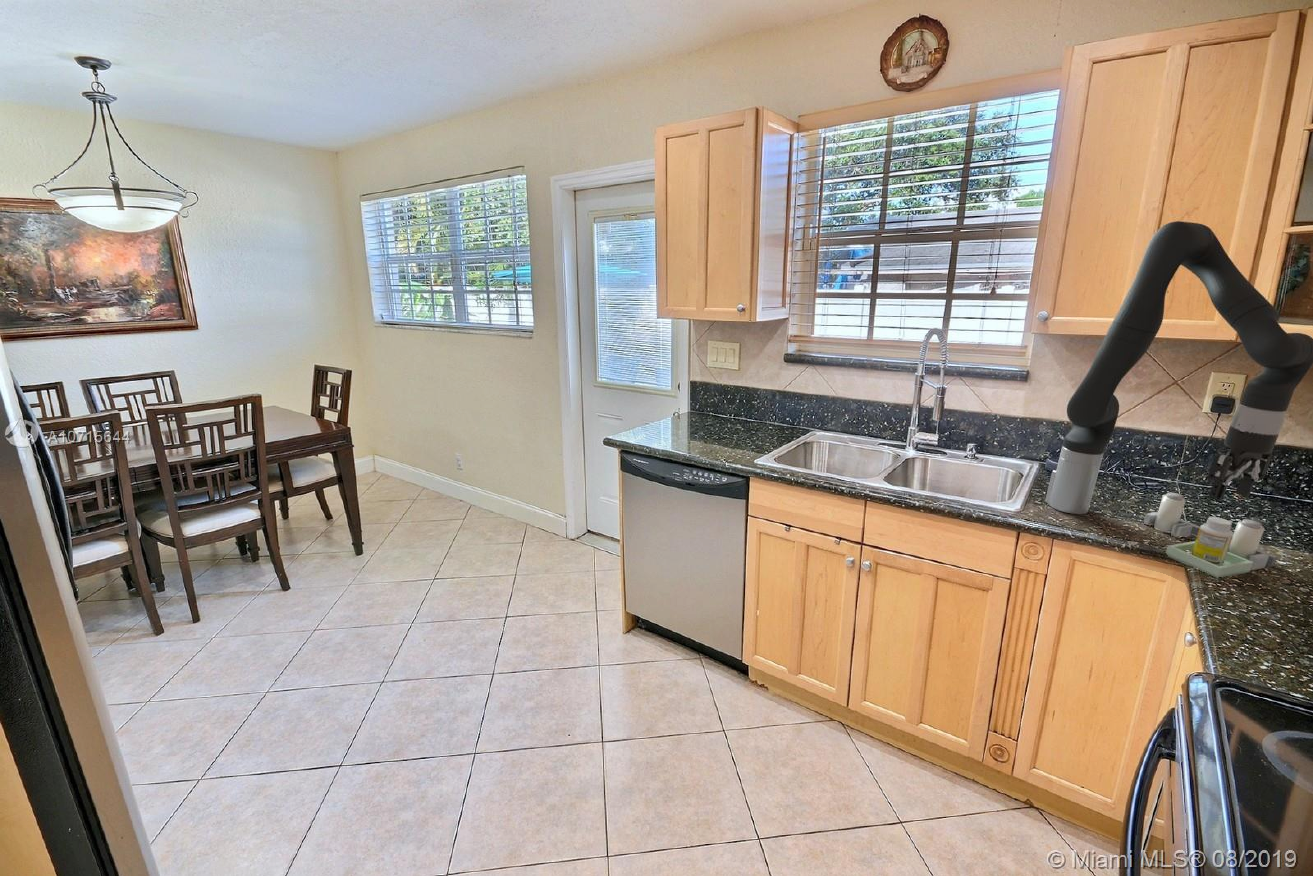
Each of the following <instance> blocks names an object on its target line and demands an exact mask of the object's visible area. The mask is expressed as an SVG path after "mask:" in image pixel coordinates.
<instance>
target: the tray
mask: <svg viewBox="0 0 1313 876" xmlns="http://www.w3.org/2000/svg"><path fill="white" fill-rule="evenodd" d="M1195 541H1196V540H1193V541H1188V542H1187V541H1186V542H1182V543H1176V544H1171V545H1167V548H1166V550H1165V553H1167V555H1168V556H1167V557H1168V558H1170V559H1173V560H1174V561H1177V562H1179V563H1182V564H1183V565H1186V566H1187V567H1190V566H1192V567H1195V568H1198V569H1199V570H1200V571H1199V570H1198V571H1199V572H1201V571H1202V573H1203V572H1205V573H1207V574H1206V575H1208V576H1210V575H1211V576H1210V577H1212V576H1213V578H1214V577H1216V578H1215V579H1220V578H1219V577H1222V578H1227V577H1231V576H1237V575H1242V574H1247V573H1250V571H1252V570H1251V567H1252V565H1253V562H1252V561H1249V560H1247V559H1244V558H1242V557H1239V556H1237V555H1235V554H1232V553H1230V552H1227V554H1226V557H1225V560H1224V563H1223V564H1222V565H1220V566H1217V565H1215V564H1212V563H1210V562H1208V561H1205V560H1203V559H1201V558H1199V557H1196V556H1194V555H1192V554H1189V553H1187V552H1185V551H1186V550H1193V548H1194V545H1195ZM1192 567H1191V568H1192ZM1205 573H1204V574H1205ZM1226 576H1227V577H1226Z"/></svg>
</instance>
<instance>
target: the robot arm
mask: <svg viewBox="0 0 1313 876" xmlns="http://www.w3.org/2000/svg"><path fill="white" fill-rule="evenodd" d="M1180 266H1182V267H1184V268H1186V270H1188V271H1190V272H1191V273H1193V275H1195V276H1196V277H1197V278H1198V279H1199V280H1200V281H1201V282H1202V284H1203V285H1204V287H1205V289H1206V291H1207V293H1208V296H1209V298H1210V301H1211V303H1212V305H1213V306H1214V308H1215V310H1216V311H1217V312H1218V314H1219V315H1220V316H1221V317H1222V318H1223V319H1224V321H1226V322H1227V324H1228V325H1229V326H1230V327H1231V328H1232V329H1233V330H1234V332H1236V334H1237V335H1238V338H1239V339H1240V342H1241V344H1242V346H1243V347H1244V350H1245V351H1246V353H1247V355H1249V357H1250V358H1251V359H1252V360H1253V362H1255V363H1256V364H1257V365H1260V366H1261V367H1263V368H1262V369H1261V370H1262V371H1261V373H1259V375H1258V376H1256V377H1255V378H1252V379H1250V380H1249V381H1248V383H1247V385H1246V387H1245V389H1244V392H1243V394H1242V396H1241V400H1240V402H1239V405H1238V407H1237V409H1236V410H1235V412H1234V414H1233V416H1232V418H1231V423H1230V426H1229V428H1228V430H1227V433H1226V435H1225V438H1224V442H1223V443H1224V445H1225V446H1227V447H1228V448H1229V451H1228V452H1227V453H1226V454H1221V453H1217V454H1216V455H1215V456H1214V459H1213V461H1212V463H1211V466H1210V469H1209V472H1208V474H1207V477H1206V479H1207V480H1209V481H1212V482H1213V483H1212V486H1211V488H1210V491H1209V493H1208V497H1209V498H1210V499H1212V500H1214V501H1218V502H1219V501H1222V500H1223V498H1224V496H1225V493H1226V491H1227V489H1228V484H1229V483H1230V482H1231V481H1232V480H1233V479H1237V478H1238V477H1239V476H1241V478H1240V479H1239V481H1238V483H1237V487H1236V490H1235V494H1236V495H1238V496H1241V497H1243V498H1246V497H1249V496H1250V494H1251V492H1252V489H1253V487H1254V485H1255V483H1256V482H1258V481H1259V479H1264V478H1265V477H1266V474H1267V471H1268V468H1269V465H1270V462H1271V459H1272V457H1273V453H1272V452H1273V449H1274V448H1275V445H1276V443H1277V440H1278V437H1279V435H1280V432H1281V430H1282V427H1283V425H1284V422H1285V419H1286V418H1285V417H1286V413H1287V410H1288V407H1289V405H1290V403H1291V401H1292V398H1293V395H1294V391H1295V389H1296V388H1297V387H1298V386H1299V384H1300V383H1301V382H1302V380H1303V379H1304V377H1305V376H1306V375H1307V373H1308V371H1310V369H1311V367H1312V366H1313V337H1312V336H1310V335H1308V334H1305V333H1301V332H1286V331H1285V330H1284V329H1283V328H1282V326H1281V325H1280V323H1278V321H1279V319H1280V313H1279V312H1278V310H1277V309H1276V307H1275V306H1273V305H1272V304H1271V303H1270V301H1268V299H1266V297H1265V296H1264V295H1263V294H1262V293H1260V292H1259V290H1257V288H1255V286H1254V285H1253V284H1252V283H1250V281H1249V280H1248V279H1247V278H1246V277H1245V276H1244V275H1243V273H1242V272H1241V271H1240V270H1239V268H1238V267H1237V265H1236V264H1235V263H1234V262H1233V261H1232V259H1231V258H1230V257H1229V255H1228V254H1227V252H1226V251H1225V249H1224V247H1223V245H1222V244H1221V241H1220V240H1219V239H1218V237H1217V236H1216V234H1215V232H1214V231H1213V230H1212V228H1210V227H1209V226H1207V225H1204V224H1203V223H1199V222H1192V221H1191V222H1190V221H1183V220H1182V221H1179V220H1177V221H1176V220H1175V221H1172V222H1169V223H1166V224H1164V225H1163V226H1161V227H1160V228H1159V229H1157V230H1156V231H1155V233H1154V234H1153V236H1152V237H1151V238H1150V240H1149V241H1148V244H1147V246H1146V248H1145V252H1144V254H1143V256H1142V259H1141V262H1140V265H1139V267H1138V269H1137V273H1136V275H1135V277H1134V279H1133V282H1132V284H1131V285H1130V288H1129V290H1128V292H1127V294H1126V296H1125V297H1124V300H1123V302H1122V304H1121V306H1120V308H1119V310H1118V312H1117V313H1116V316H1115V317H1114V319H1113V321H1112V322H1111V324H1110V326H1109V328H1108V330H1107V332H1106V334H1105V336H1104V338H1103V341H1102V342H1101V344H1100V347H1099V349H1098V350H1097V353H1096V354H1095V357H1094V359H1093V361H1092V364H1091V366H1090V368H1089V370H1088V371H1087V373H1086V375H1085V376H1084V377H1083V379H1082V381H1081V383H1080V384H1079V386H1077V389H1076V390H1075V391H1074V393H1073V395H1072V396H1071V397H1070V399H1069V401H1068V403H1067V406H1066V414H1067V418H1068V420H1069V421H1070V422H1071V424H1073V425H1072V427H1071V429H1070V430H1069V431H1068V433H1067V434H1066V435H1065V436H1064V438H1063V441H1062V445H1061V451H1060V453H1059V458H1058V461H1057V462H1058V463H1057V466H1056V469H1054V470H1052V471H1051V475H1050V480H1049V482H1048V483H1049V484H1048V487H1047V493H1046V496H1045V500H1044V502H1045V503H1046V504H1048V506H1050V507H1051V508H1052V509H1055V510H1058V511H1060V512H1063V513H1068V514H1072V515H1085V514H1088V512H1089V509H1090V506H1091V505H1090V504H1091V502H1092V498H1093V493H1094V491H1095V486H1096V482H1097V479H1098V476H1099V471H1100V468H1101V465H1102V460H1103V457H1104V453H1105V449H1106V447H1107V445H1109V443H1110V441H1111V439H1112V437H1113V434H1114V431H1115V427H1116V424H1117V420H1118V416H1119V412H1120V402H1119V400H1118V398H1117V397H1116V395H1115V391H1116V390H1117V388H1118V385H1119V384H1120V383H1121V381H1122V380H1123V379H1124V377H1125V376H1126V375H1127V374H1128V373H1129V372H1130V371H1131V370H1132V369H1133V368H1134V366H1135V365H1137V363H1138V362H1139V361H1140V360H1141V359H1142V357H1144V355H1145V354H1146V352H1147V351H1148V350H1149V348H1150V347H1151V346H1152V343H1153V341H1154V340H1155V338H1156V336H1157V334H1158V332H1159V330H1160V329H1161V326H1162V324H1163V320H1164V314H1165V313H1164V312H1165V304H1166V303H1165V302H1166V300H1165V299H1166V294H1167V290H1168V288H1169V285H1170V283H1171V282H1172V280H1173V278H1174V276H1175V274H1176V272H1177V271H1178V269H1179V268H1180Z"/></svg>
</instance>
